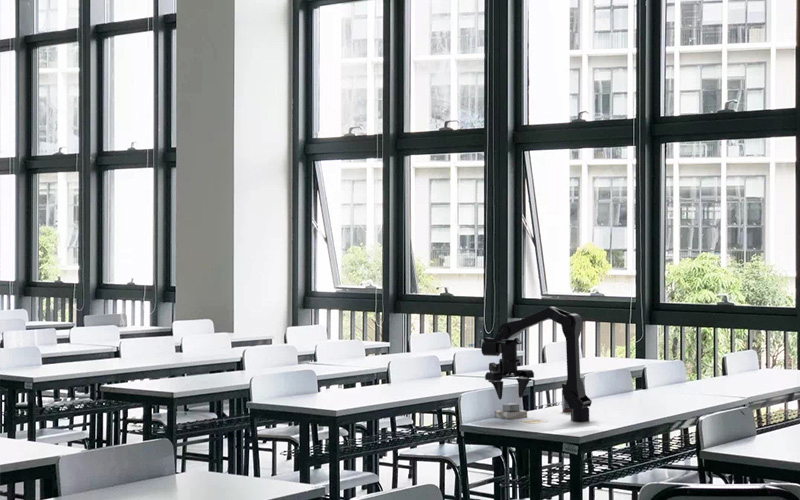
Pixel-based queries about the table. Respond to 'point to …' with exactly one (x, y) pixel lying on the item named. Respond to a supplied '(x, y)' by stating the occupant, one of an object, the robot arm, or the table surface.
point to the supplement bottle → (565, 405)
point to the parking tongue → (533, 421)
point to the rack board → (510, 414)
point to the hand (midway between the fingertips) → (510, 398)
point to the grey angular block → (511, 407)
